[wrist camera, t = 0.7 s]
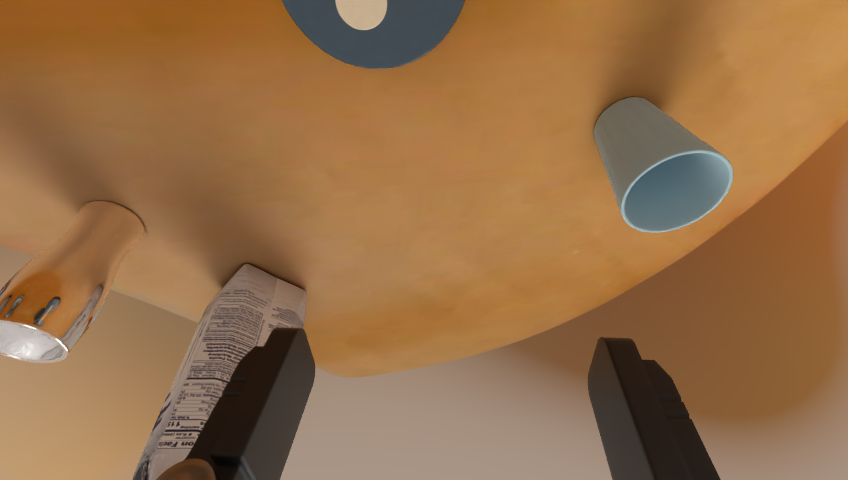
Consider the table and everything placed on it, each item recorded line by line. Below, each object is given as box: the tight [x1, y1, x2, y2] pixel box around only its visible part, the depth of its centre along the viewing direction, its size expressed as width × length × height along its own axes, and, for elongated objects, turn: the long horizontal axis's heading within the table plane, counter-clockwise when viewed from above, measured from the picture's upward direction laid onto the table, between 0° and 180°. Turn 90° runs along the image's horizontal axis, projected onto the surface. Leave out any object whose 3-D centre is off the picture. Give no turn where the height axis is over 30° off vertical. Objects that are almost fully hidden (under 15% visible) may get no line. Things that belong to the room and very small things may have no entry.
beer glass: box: [0, 201, 145, 363], centre depth 39 cm, size 7×7×15 cm
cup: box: [594, 97, 733, 233], centre depth 34 cm, size 8×8×10 cm
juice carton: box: [133, 264, 306, 480], centre depth 44 cm, size 9×10×27 cm
